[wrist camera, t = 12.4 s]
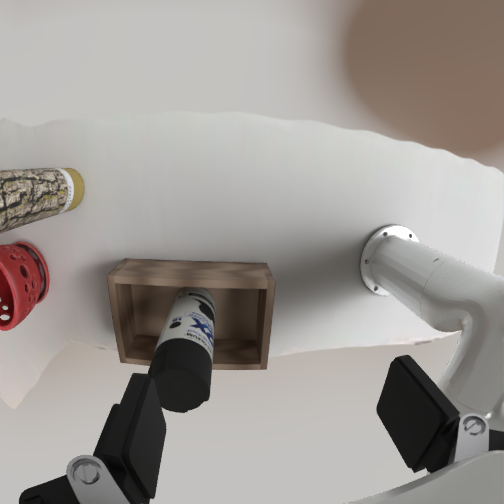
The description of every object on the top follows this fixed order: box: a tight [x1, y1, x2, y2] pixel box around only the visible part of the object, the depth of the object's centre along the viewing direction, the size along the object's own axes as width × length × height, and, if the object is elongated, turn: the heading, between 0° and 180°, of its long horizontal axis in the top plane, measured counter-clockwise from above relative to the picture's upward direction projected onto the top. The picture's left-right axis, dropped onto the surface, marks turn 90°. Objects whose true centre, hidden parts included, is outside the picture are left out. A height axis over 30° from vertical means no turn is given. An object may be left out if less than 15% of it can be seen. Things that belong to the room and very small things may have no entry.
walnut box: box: [107, 259, 275, 370], centre depth 41 cm, size 22×14×8 cm, turn 87°
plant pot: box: [0, 242, 49, 331], centre depth 35 cm, size 13×13×12 cm
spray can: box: [148, 287, 216, 413], centre depth 35 cm, size 7×7×20 cm
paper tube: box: [0, 168, 84, 233], centre depth 26 cm, size 7×7×25 cm
